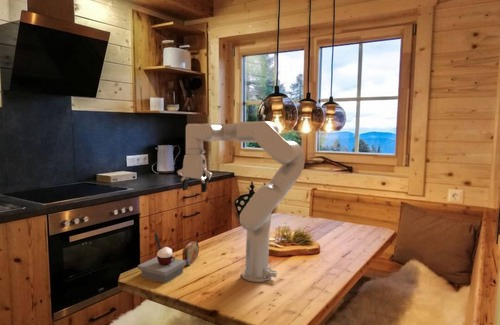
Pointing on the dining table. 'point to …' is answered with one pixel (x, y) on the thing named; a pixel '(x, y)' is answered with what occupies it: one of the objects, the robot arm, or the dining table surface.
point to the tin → (190, 252)
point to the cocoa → (164, 253)
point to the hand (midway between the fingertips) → (194, 190)
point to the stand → (161, 270)
